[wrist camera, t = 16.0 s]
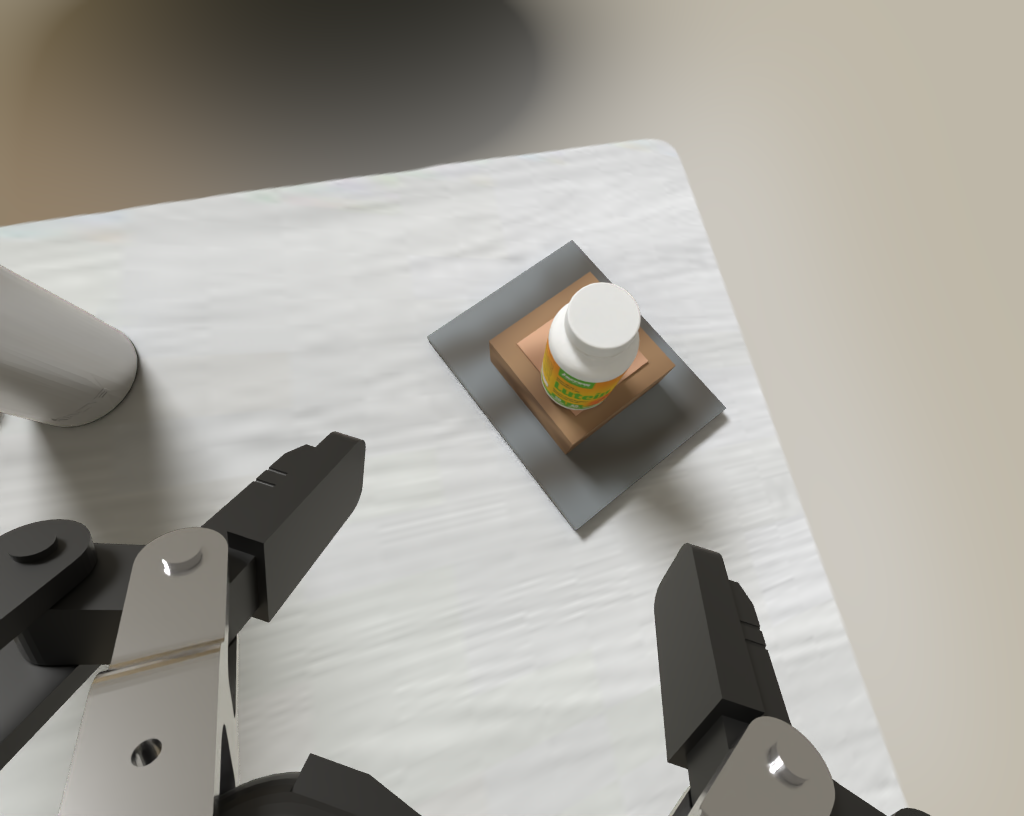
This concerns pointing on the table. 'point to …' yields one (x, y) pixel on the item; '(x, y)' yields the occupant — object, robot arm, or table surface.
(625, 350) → the supplement bottle
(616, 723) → the table surface
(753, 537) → the table surface
